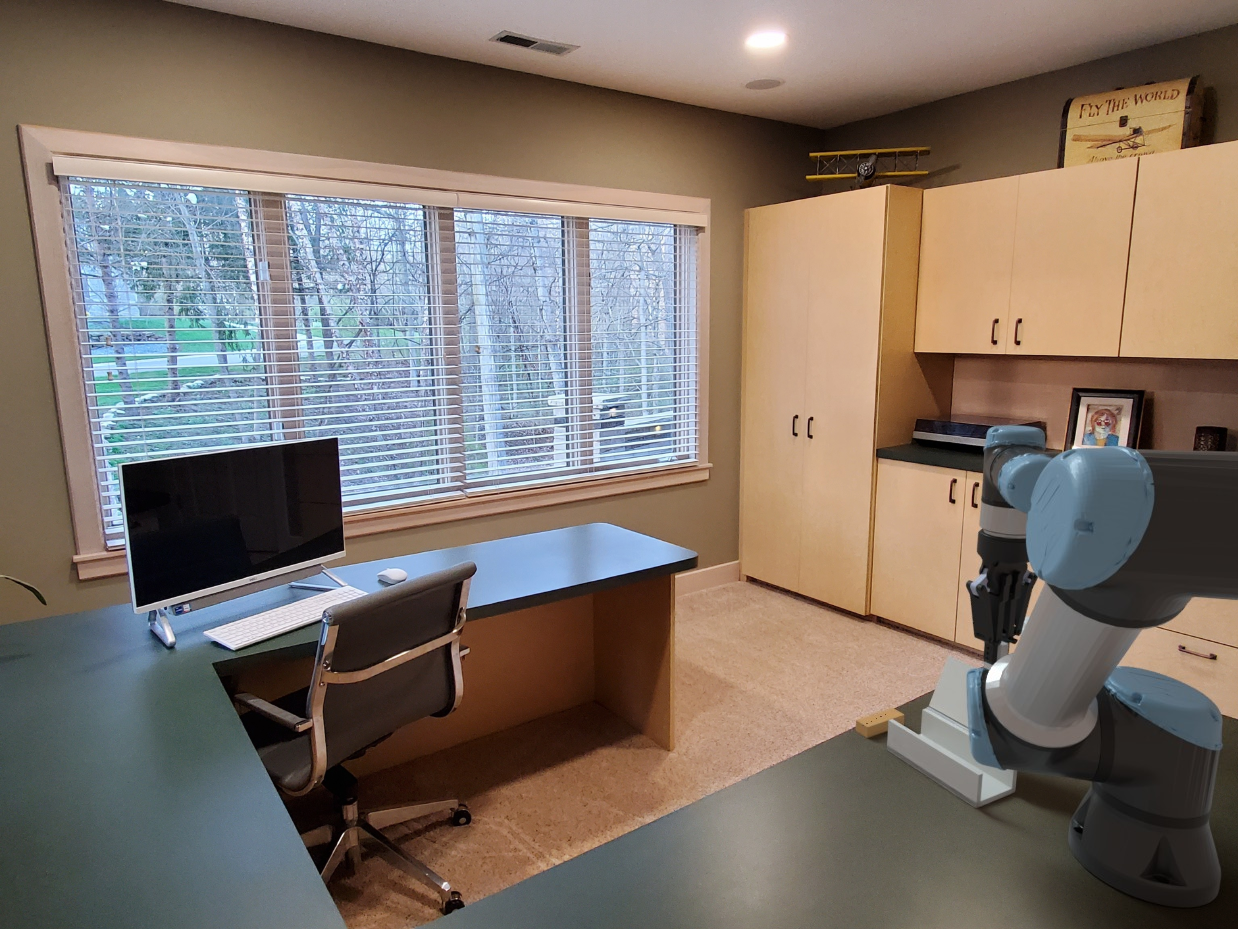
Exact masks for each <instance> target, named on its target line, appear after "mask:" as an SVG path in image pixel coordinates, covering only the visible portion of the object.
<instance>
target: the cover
mask: <svg viewBox="0 0 1238 929" xmlns="http://www.w3.org/2000/svg"><path fill="white" fill-rule="evenodd" d="M973 668H977V667H975V666H974V665H971V664H969V663H967V662H965V661H962V660H960V659H958V658H956V657H954V656H952V655H950V654H948V655H947V658H946V660H945V663H944V666H943V668H942V671H941V673H940V675H939V679H938V682H937V684H936V687H935V688H934V692H933V694H932V696H931V700H930V702H929V704H928V706H927V707H926V709H928V710H930V711H932V712H934V713H935V714H937V715H939V716H941V717H942V718H944V719H946V720H948V721H950V722H951V723H953V724H955V725H957V726H959V727H960V728H962V729H964V730H966V731H968V732H969V728H968V713H967V691H966V676H967V672H968V671H969V670H970V669H973Z"/></svg>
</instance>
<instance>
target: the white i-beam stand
mask: <svg viewBox="0 0 1238 929" xmlns="http://www.w3.org/2000/svg"><path fill="white" fill-rule="evenodd" d="M926 708H927V707H926ZM926 708H923V709H922V710H921V711H922V712H921V724H920V726H921V727H920V733H919V734H918V733H916V732H915V731H913V730H911V729H910V728H908V727H907V726H904V725H902V724H900V723H898V722H897V721H895V720H893V719H891V720H889V722H888V731H887V738H886V739H887V741H886V751H888V752H889V753H891V754H892V755H893V756H896V757H897V758H899V759H900V760H901V761H903V762H905V764H908V765H909V766H911V767H912V768H914V769H915V770H917V771H918V772H919V773H921V774H923V775H924V776H926V777H927V778H929V779H931V780H932V781H934V782H935V783H936V784H938V785H939V786H941V787H942V788H944V789H945V790H947V791H948V792H950V793H952V794H953V795H955V797H957V798H959V799H961V800H962V801H964V802H966V803H967V804H969V805H970V806H972V807H973V808H975V809H979V808H980V807H983V806H985V805H988V804H991V803H992V802H995V801H997V800H1000V799H1002V798H1005V797H1007V796H1009V795H1012V794H1014V793H1016V789H1017V787H1016V786H1017V776H1018V771H1016V770H1009V769H1007V770H1005V771H1004V770H1000V769H998V768H994V767H990V766H985V765H982V764H980V763H978V762H977V761H976V760H975V759H974V758H973V756H972V754H971V748H970V740H969V732H968V731H966V730H964V729H962V728H960V727H959V726H957V725H955V724H953V723H951V722H950V721H948V720H946V719H944V718H942V717H941V716H939V715H937V714H935V713H934V712H932V711H930V710H928V709H926Z"/></svg>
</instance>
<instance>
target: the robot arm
mask: <svg viewBox="0 0 1238 929" xmlns="http://www.w3.org/2000/svg"><path fill="white" fill-rule="evenodd" d="M1046 449H1047V447H1046V435H1045V432H1044V431H1043V429H1041V428H1038V427H1034V426H1028V425H1027V426H1026V425H1013V424H1011V425H1010V424H1009V425H1007V424H1006V425H1004V424H1003V425H995V426H992V427H990V428H988V430H987V432H986V437H985V445H984V446H983V454H984V455H983V471H982V486H981V497H980V501H981V503H980V511H979V513H980V514H979V523H978V525H979V527H980V528H981V529H980V530H979V531H978V533H977V540H976V541H977V542H976V552H977V553H976V554H978V556H980V559H981V560H982V561H981V565H980V567H979V570H978V575H979V576H978V577H977V578H976V579H975V580H974V581H973V580H967V581H966V582H965V586H966V587H965V588H966V589H967V592H968V593H969V597H970V598H969V600H970V609H971V619H972V627H973V629H972V630H973V636H974V638H975V639H978V640H980V641H982V642H983V644H984V645H983V655H982V656H983V657H982V658H983V659H982V660H983V667H979V668H978V667H976V668H973V669H970V670H969V671H968V672H967V676H966V691H967V713H968V727H967V728H968V729H969V740H970V748H971V754H972V756H973V758H974V759H975V760H976V761H977V762H978V763H980V764H982V765H985V766H990V767H994V768H998V769H1000V770H1004V771H1005V770H1007V769H1009V770H1016V771H1017V772H1024V773H1025V772H1026V773H1032V774H1039V775H1045V776H1051V777H1059V778H1067V779H1073V780H1074V779H1075V780H1079V781H1080V780H1081V781H1087V782H1091V783H1090V787H1089V788H1088V790H1087V792H1086V793H1085V795H1084V797H1083V798H1082V800H1081V802H1080V804H1079V805H1078V807H1077V808H1076V810H1075V812H1074V814H1073V815H1072V817H1071V819H1070V822H1069V828H1068V837H1067V840H1068V841H1067V842H1068V845H1069V848H1070V851H1071V853H1072V854H1073V855H1074V857H1075V859H1077V861H1078V862H1079V863H1080V864H1081V866H1083V867H1084V869H1086V870H1087V871H1088V872H1090V873H1091V874H1092V875H1094V876H1095V877H1096V878H1098V879H1099V880H1101V881H1102V882H1103V883H1105V884H1107V885H1109V886H1111V887H1113V888H1114V889H1116V890H1118V891H1120V892H1123V893H1125V894H1127V895H1129V896H1132V897H1134V898H1137V899H1139V900H1140V899H1141V900H1142V901H1143V900H1144V901H1146V902H1150V903H1152V904H1156V905H1163V906H1166V907H1173V908H1196V907H1202V906H1205V905H1208V904H1209V903H1211V902H1212V901H1214V900H1215V899H1216V898H1217V896H1218V894H1219V891H1220V885H1221V880H1222V879H1221V878H1222V870H1221V864H1220V862H1219V861H1220V860H1219V856H1218V853H1217V849H1216V845H1215V841H1214V838H1213V835H1212V831H1211V828H1210V815H1211V808H1212V804H1213V803H1212V802H1213V797H1214V791H1215V785H1216V778H1217V773H1218V767H1219V761H1220V753H1221V750H1222V749H1223V746H1224V743H1223V740H1222V737H1223V736H1222V732H1223V731H1222V730H1223V716H1222V713H1221V710H1220V708H1219V706H1217V704H1216V703H1215V702H1214V701H1213V700H1212V699H1211V698H1210V697H1209V696H1207V695H1206V694H1204V693H1203V692H1202V691H1200V690H1198V689H1197V688H1195V687H1193V686H1191V685H1189V684H1187V683H1185V682H1183V681H1180V680H1179V679H1176V678H1174V677H1171V676H1168V675H1166V674H1162V673H1160V672H1156V671H1153V670H1149V669H1146V668H1145V669H1144V668H1140V667H1134V666H1127V665H1119V664H1120V662H1121V661H1122V660H1123V658H1124V656H1126V654H1127V653H1128V651H1129V649H1130V648H1131V647H1132V646H1133V644H1134V643H1135V641H1136V639H1137V638H1138V636H1139V635H1140V633H1141V632H1142V631H1143V630H1148V629H1152V628H1157V627H1159V626H1163V625H1165V624H1167V623H1169V622H1171V621H1172V620H1174V619H1175V618H1177V617H1178V616H1179V615H1180V614H1181V613H1182V611H1183V610H1184V609H1185V608H1186V607H1187V605H1188V603H1189V602H1190V601H1192V599H1194V598H1203V599H1216V600H1217V599H1218V600H1228V601H1238V451H1214V450H1213V451H1211V450H1209V451H1207V450H1180V449H1179V450H1178V449H1177V450H1174V449H1173V450H1172V449H1137V448H1136V449H1133V448H1132V447H1131V448H1130V447H1128V446H1123V445H1107V446H1103V447H1089V448H1087V447H1082V448H1081V447H1080V448H1079V447H1078V448H1073V449H1072V448H1071V449H1068V450H1066V451H1063V452H1059V451H1058V452H1056V451H1046ZM1028 563H1029V565H1030V567H1031V569H1032V571H1031V570H1029V569H1028V566H1029V565H1028ZM1038 579H1040V580H1042V581H1043V582H1044V584H1043V587H1042V589H1041V591H1040V593H1039V596H1038V598H1037V600H1036V603H1035V604H1034V606H1033V609H1032V611H1031V613H1030V615H1029V616H1030V617H1029V620H1028V622H1027V624H1026V626H1025V629H1024V631H1023V633H1022V635H1021V632H1022V629H1023V625H1024V621H1025V618H1026V617H1027V612H1028V609H1029V604H1030V601H1031V597H1032V593H1033V590H1034V587H1035V585H1036V583H1037V581H1038ZM1015 637H1020V638H1019V639H1017V638H1015ZM1010 644H1012V645H1016V647H1015V648H1014V651H1013V652H1011V653H1010ZM1118 665H1119V666H1118Z"/></svg>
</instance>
